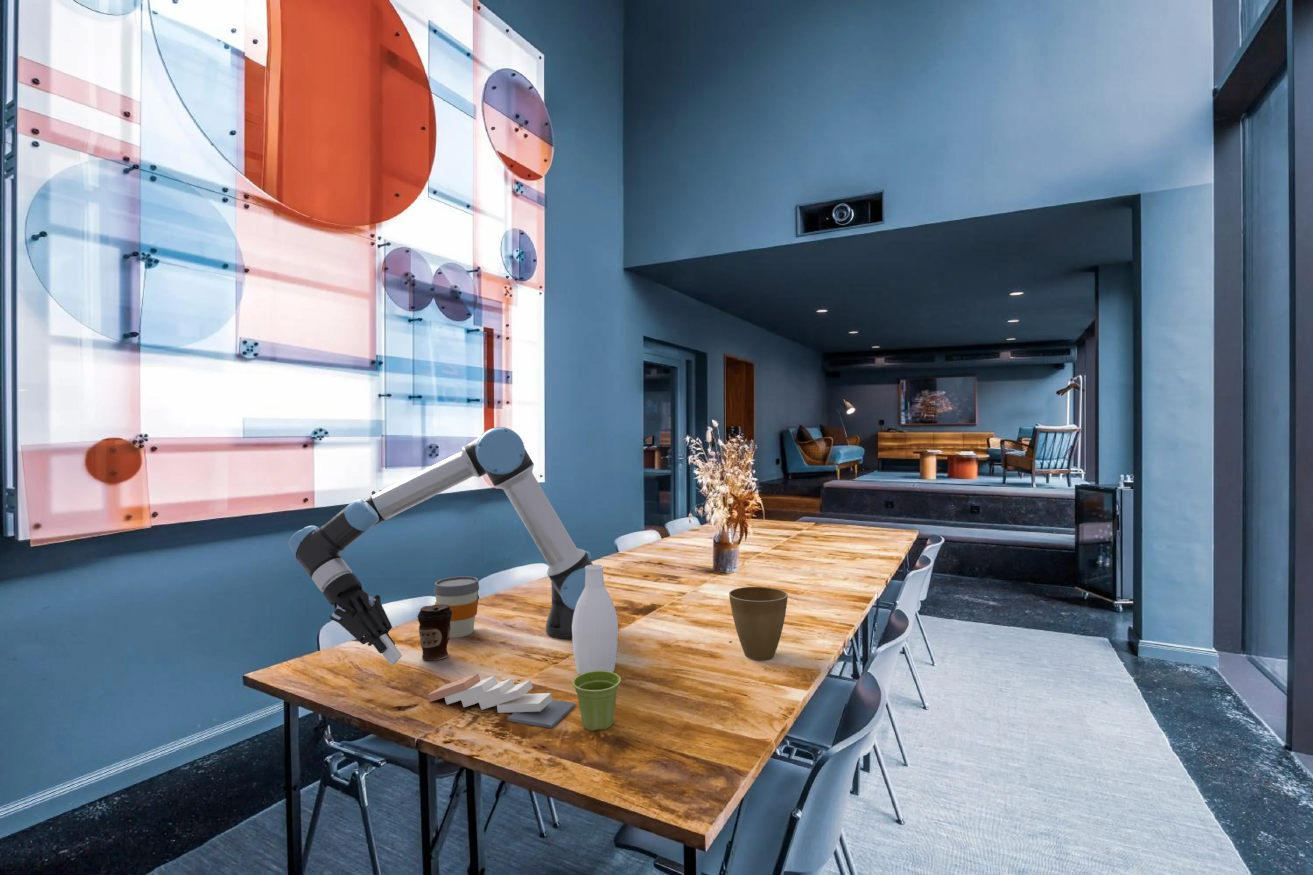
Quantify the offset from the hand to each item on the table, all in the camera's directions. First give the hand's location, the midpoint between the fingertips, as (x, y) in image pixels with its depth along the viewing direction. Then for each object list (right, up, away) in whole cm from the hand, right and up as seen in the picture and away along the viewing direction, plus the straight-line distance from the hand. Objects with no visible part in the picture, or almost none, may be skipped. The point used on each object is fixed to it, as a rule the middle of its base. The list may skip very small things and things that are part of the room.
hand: (396, 660), depth 133 cm
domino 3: (+19, -6, -6) cm, 20 cm away
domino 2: (+14, -6, -5) cm, 16 cm away
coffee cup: (+1, -7, +20) cm, 21 cm away
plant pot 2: (+85, -6, +18) cm, 87 cm away
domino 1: (+10, -6, -4) cm, 12 cm away
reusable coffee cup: (0, -7, +39) cm, 40 cm away
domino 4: (+23, -6, -8) cm, 25 cm away
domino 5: (+27, -6, -9) cm, 29 cm away
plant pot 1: (+47, -6, -17) cm, 50 cm away
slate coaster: (+35, -6, -12) cm, 38 cm away
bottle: (+44, -6, +9) cm, 45 cm away
